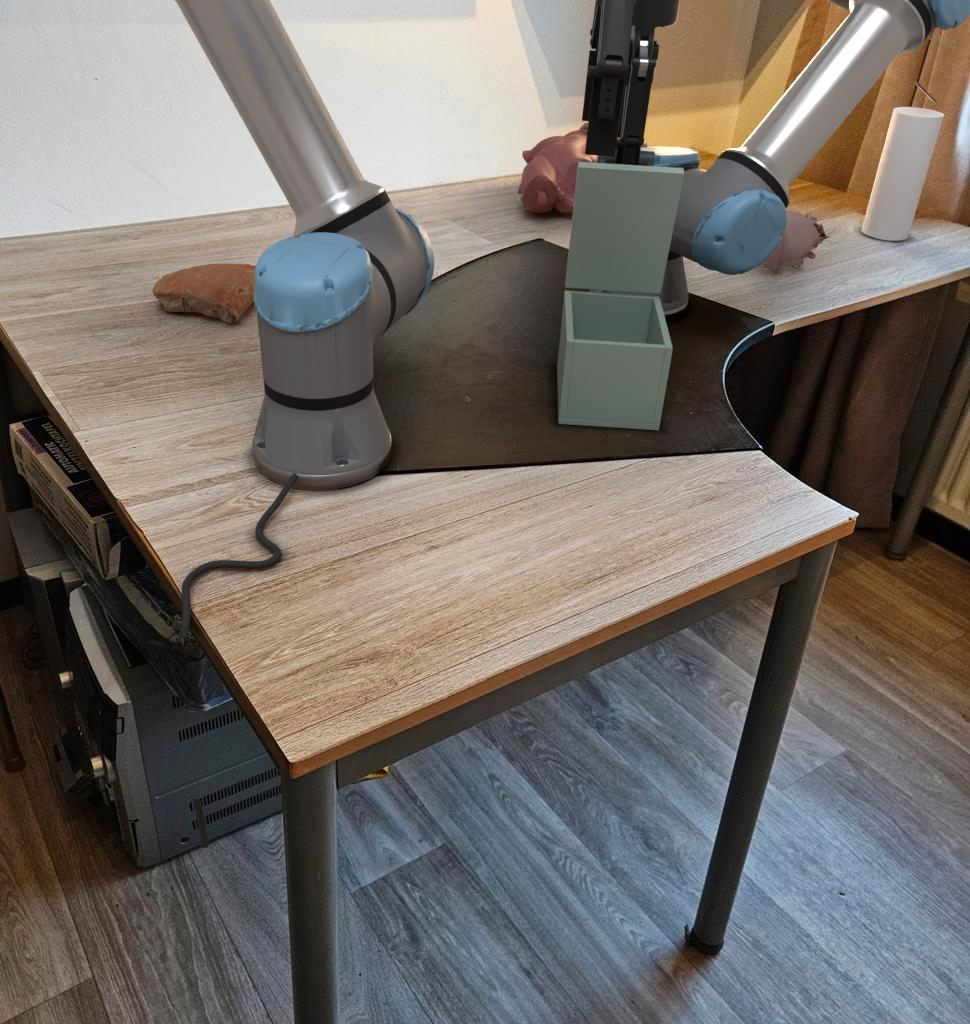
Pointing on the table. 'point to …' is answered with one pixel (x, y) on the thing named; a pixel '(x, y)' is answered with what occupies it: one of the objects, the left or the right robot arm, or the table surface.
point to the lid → (622, 224)
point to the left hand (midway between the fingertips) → (597, 137)
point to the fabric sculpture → (554, 171)
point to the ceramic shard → (208, 290)
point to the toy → (796, 241)
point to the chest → (612, 360)
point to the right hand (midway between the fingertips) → (621, 196)
